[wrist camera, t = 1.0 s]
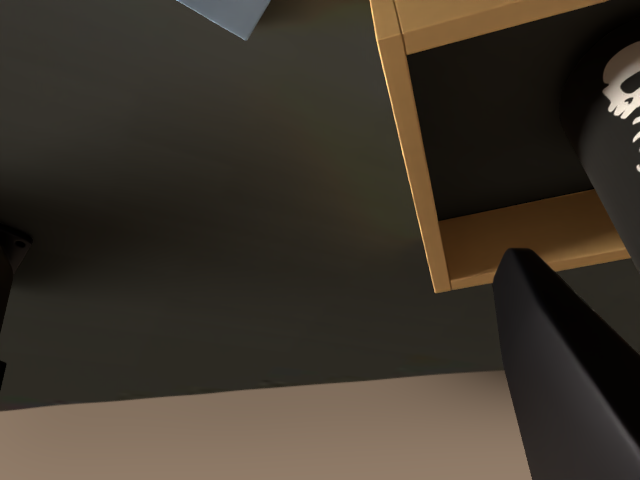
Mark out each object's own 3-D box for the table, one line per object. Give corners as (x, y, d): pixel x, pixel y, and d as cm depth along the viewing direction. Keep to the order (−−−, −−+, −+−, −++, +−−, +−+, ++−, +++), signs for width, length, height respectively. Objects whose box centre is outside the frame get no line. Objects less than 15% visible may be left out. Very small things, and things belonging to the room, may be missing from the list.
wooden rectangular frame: (423, 234, 29) (434, 293, 27) (367, -14, 20) (376, 40, 17) (772, 163, 26) (826, 223, 23) (909, -177, 16) (1028, -143, 14)
